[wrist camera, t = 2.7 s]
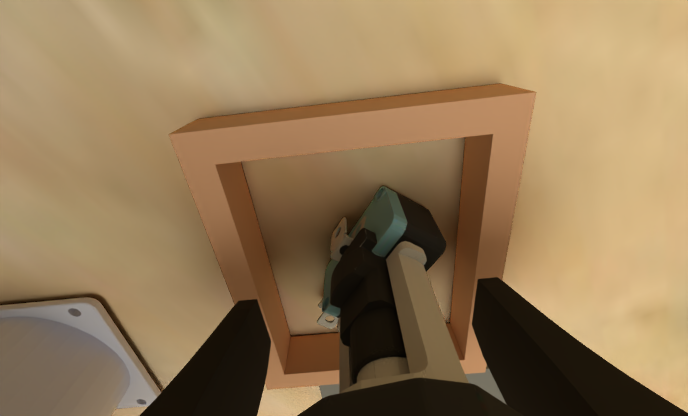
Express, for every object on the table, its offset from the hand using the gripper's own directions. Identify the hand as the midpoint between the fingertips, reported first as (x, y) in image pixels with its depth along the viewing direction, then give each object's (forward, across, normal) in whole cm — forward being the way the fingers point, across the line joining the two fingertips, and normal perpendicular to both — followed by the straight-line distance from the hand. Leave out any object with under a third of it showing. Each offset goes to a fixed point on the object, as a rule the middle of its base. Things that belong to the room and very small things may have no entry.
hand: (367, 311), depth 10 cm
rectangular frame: (+3, 0, 0) cm, 3 cm away
